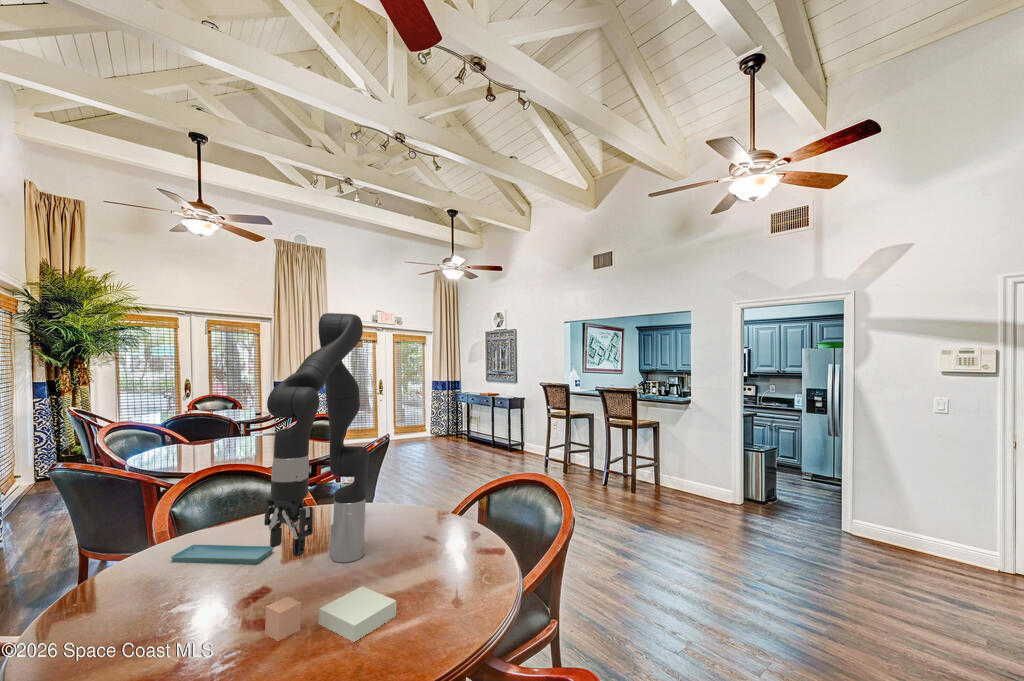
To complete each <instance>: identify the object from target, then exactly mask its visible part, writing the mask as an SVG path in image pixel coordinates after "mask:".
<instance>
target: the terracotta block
mask: <svg viewBox="0 0 1024 681" xmlns="http://www.w3.org/2000/svg"><path fill="white" fill-rule="evenodd" d="M301 616H302V602H301V601H298V600H296V599H295V598H292V597H290V596H286V597H283V598H281V599H279V600H277V601H275V602H272V603H270V604H268V605H266V606H265V621H264V622H265V623H264V624H265V626H264V628H265V629H264V635H265V634H266V635H268V636H270V637H271V638H270V637H269V638H270V639H272V638H273V639H275V640H276V642H277V641H280V640H281V639H283V638H285V637H287V636H289V635H291V634H293V633H295V632H296V633H298V632H300V631H301V621H302V620H301V618H302V617H301ZM299 630H300V631H299ZM297 631H298V632H297ZM296 633H295V634H296ZM266 635H265V636H266ZM293 635H294V634H293ZM268 636H267V637H268ZM291 636H292V635H291ZM289 637H290V636H289ZM287 638H288V637H287ZM273 639H272V640H273ZM285 639H286V638H285ZM275 640H274V641H275ZM280 642H281V641H280Z"/></svg>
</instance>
